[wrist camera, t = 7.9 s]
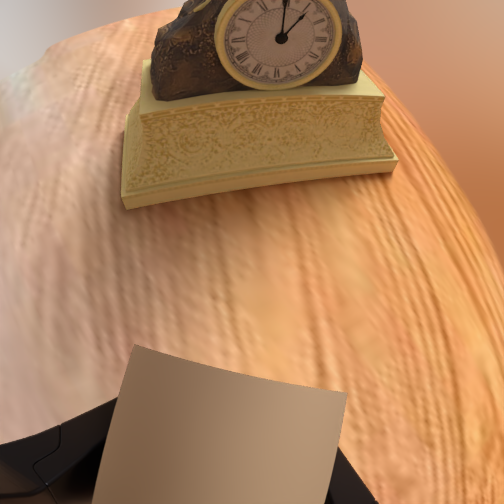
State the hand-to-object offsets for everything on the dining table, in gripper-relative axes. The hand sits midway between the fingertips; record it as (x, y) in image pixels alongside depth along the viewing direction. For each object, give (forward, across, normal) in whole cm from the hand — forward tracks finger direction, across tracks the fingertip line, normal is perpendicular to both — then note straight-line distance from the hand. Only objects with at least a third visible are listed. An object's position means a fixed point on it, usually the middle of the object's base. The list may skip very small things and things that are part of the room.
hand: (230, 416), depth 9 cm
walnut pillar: (+4, 0, +6) cm, 7 cm away
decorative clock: (+28, +4, -9) cm, 30 cm away
